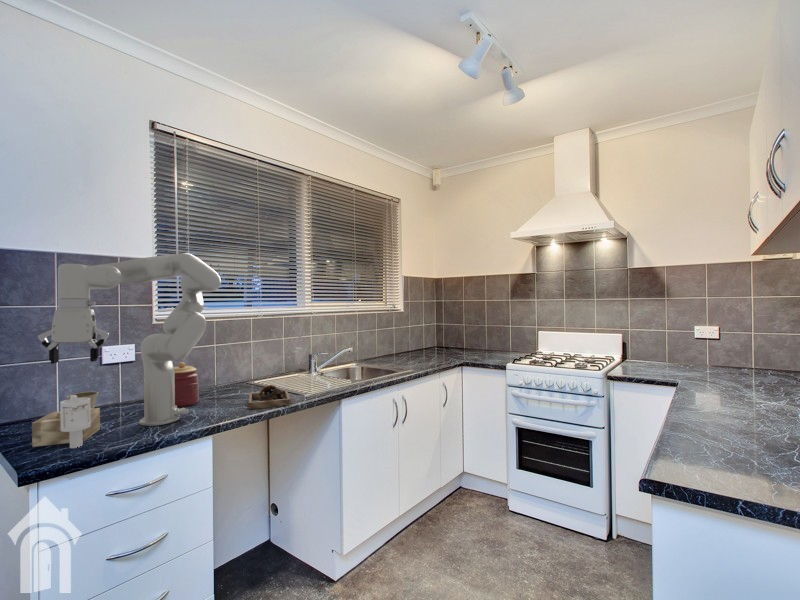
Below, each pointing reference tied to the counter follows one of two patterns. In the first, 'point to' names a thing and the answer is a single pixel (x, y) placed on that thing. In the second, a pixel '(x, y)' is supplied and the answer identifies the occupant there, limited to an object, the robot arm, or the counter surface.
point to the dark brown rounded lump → (270, 393)
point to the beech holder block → (59, 429)
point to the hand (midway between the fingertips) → (74, 362)
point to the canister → (186, 385)
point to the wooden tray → (268, 403)
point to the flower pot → (86, 395)
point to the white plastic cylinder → (75, 418)
